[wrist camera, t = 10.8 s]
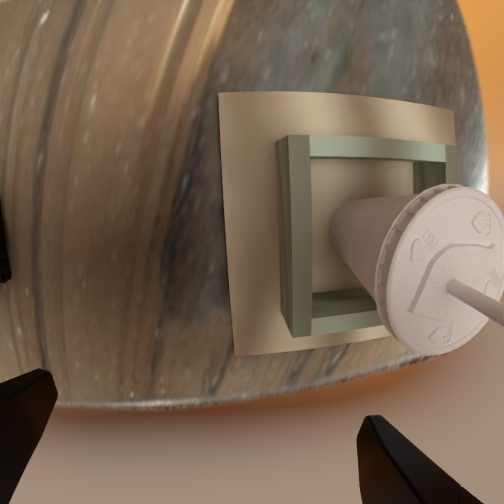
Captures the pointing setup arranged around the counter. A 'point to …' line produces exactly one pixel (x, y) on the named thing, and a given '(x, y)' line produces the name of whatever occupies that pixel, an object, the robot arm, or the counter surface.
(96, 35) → the counter surface
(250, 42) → the counter surface
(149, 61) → the counter surface
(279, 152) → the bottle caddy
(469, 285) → the smoothie
